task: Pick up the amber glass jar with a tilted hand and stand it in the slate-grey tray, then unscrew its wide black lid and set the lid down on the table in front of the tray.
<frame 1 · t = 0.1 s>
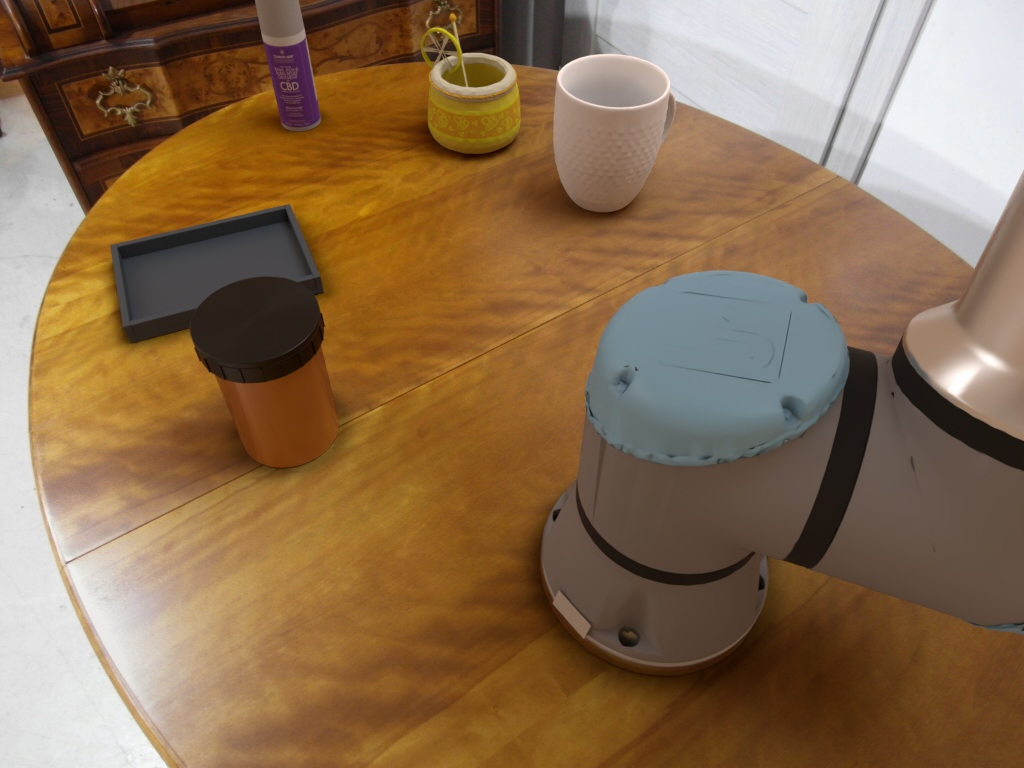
tray: (219, 276, 74), on the table
container: (301, 122, 93), on the table
mug: (607, 193, 84), on the table
jar: (290, 429, 62), on the table
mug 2: (472, 133, 92), on the table
jar lid: (257, 322, 53), point 12 cm above the table, screwed on, not yet turned
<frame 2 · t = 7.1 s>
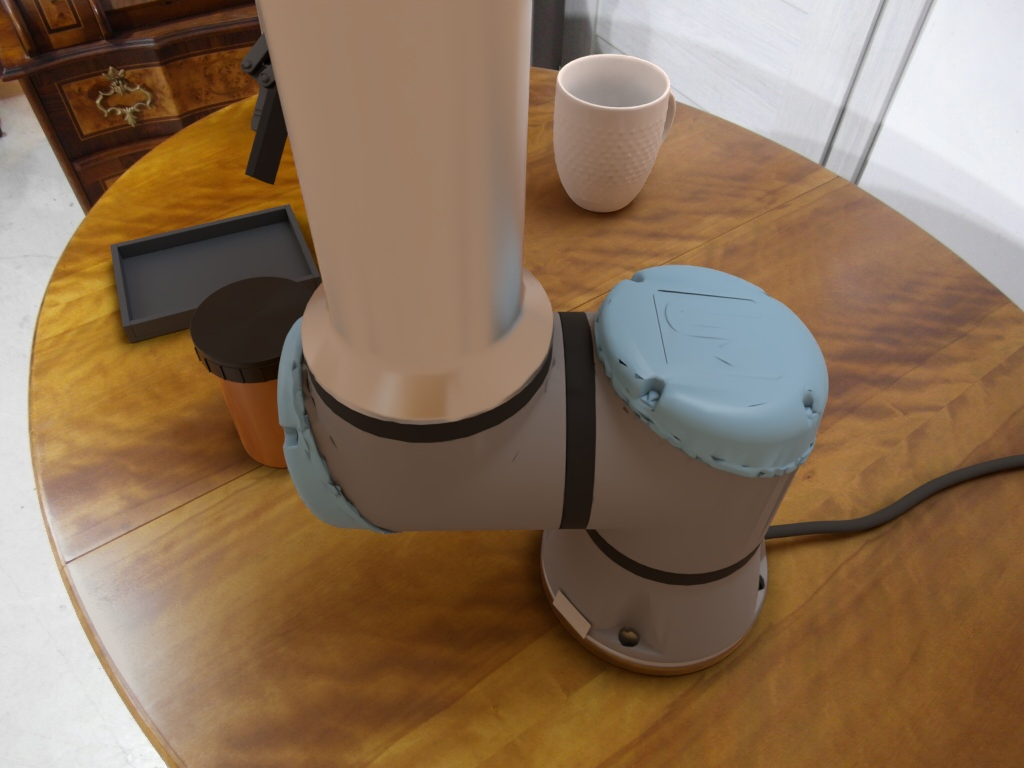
hand: (335, 203, 57), 15 cm above the table, tool tilted 45°, fingers open, 13 cm apart
nothing on the table moved.
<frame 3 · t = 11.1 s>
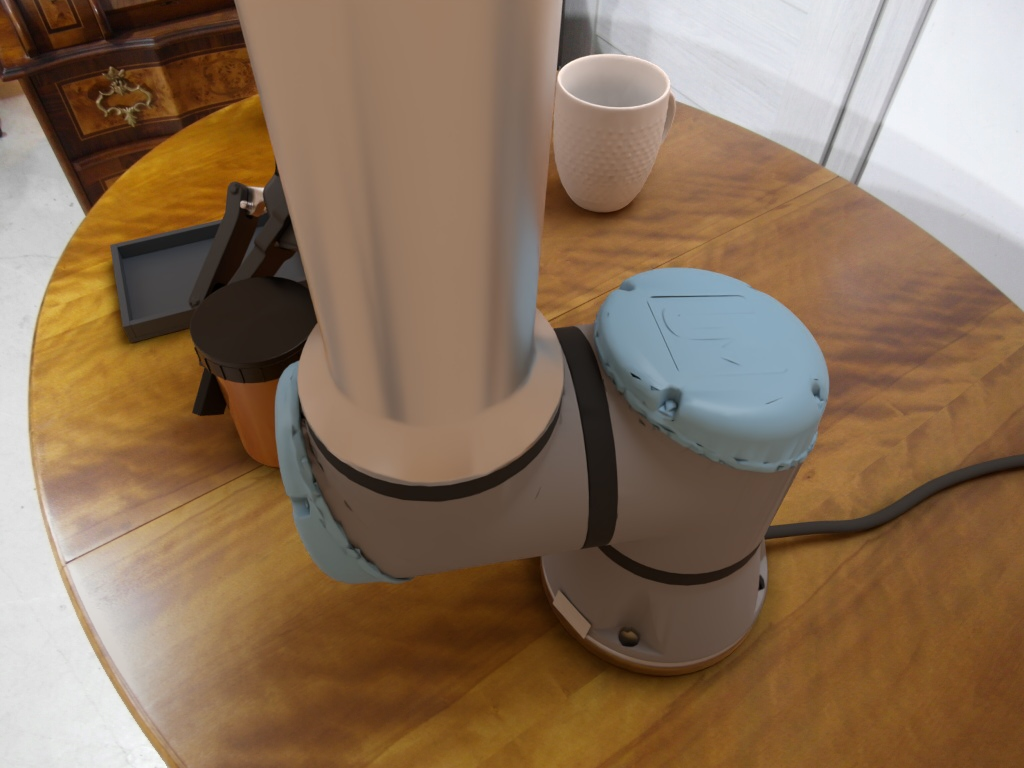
hand: (254, 431, 57), 4 cm above the table, tool tilted 45°, fingers closed on jar, 8 cm apart
jar: (291, 429, 62), on the table, touching gripper
everything else where it was.
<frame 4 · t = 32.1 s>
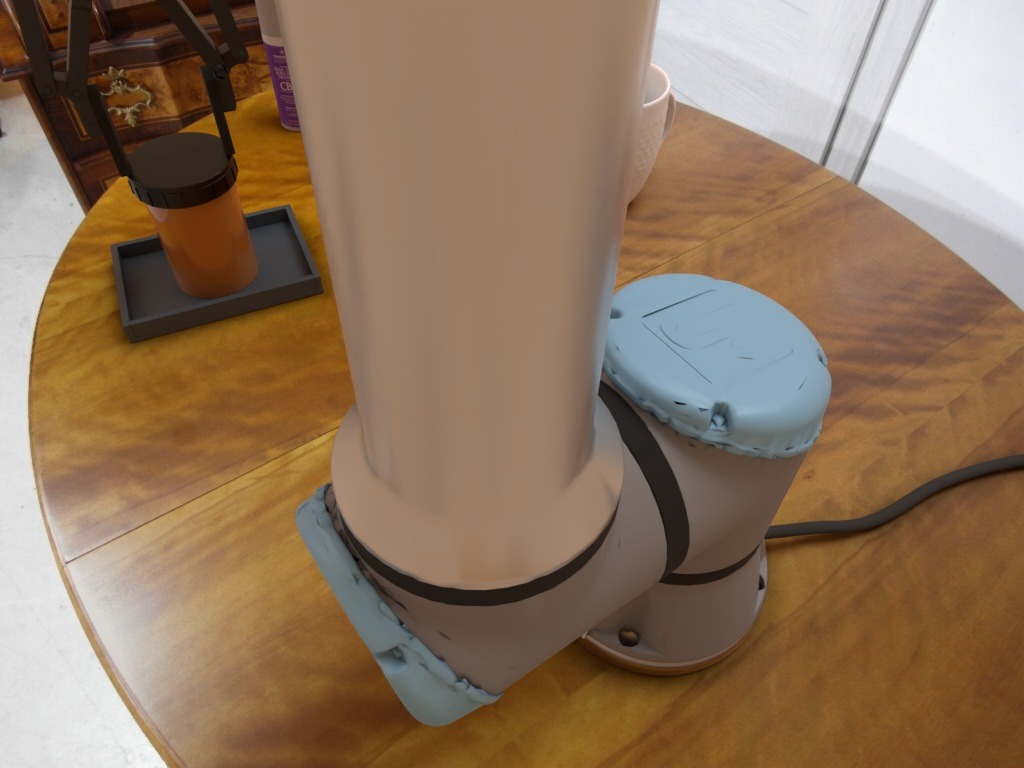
hand: (177, 156, 64), 13 cm above the table, tool pointing down, fingers closed on jar lid, 8 cm apart
jar: (218, 272, 73), point 1 cm above the table, touching tray
jar lid: (180, 164, 65), point 12 cm above the table, screwed on, not yet turned, touching gripper
everything else where it was.
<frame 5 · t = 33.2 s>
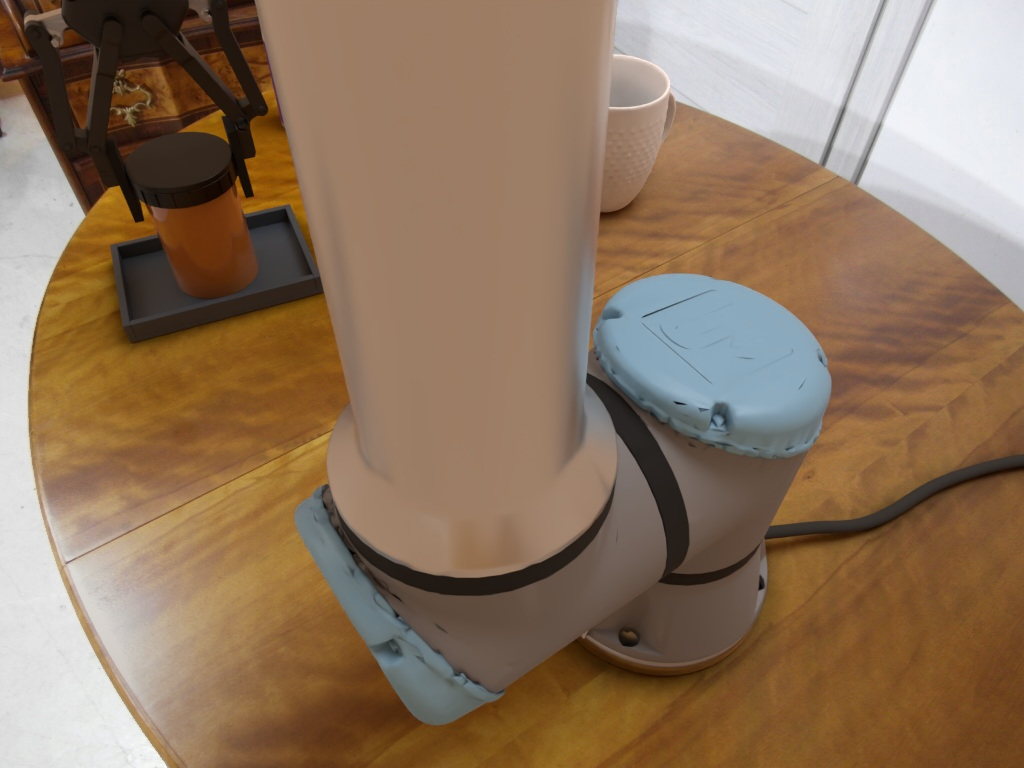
hand: (193, 200, 68), 8 cm above the table, tool pointing down, fingers closed on jar lid, 9 cm apart
jar lid: (180, 163, 65), point 12 cm above the table, turned 9° so far, risen 0.0 cm, still on its thread, touching gripper
everything else where it was.
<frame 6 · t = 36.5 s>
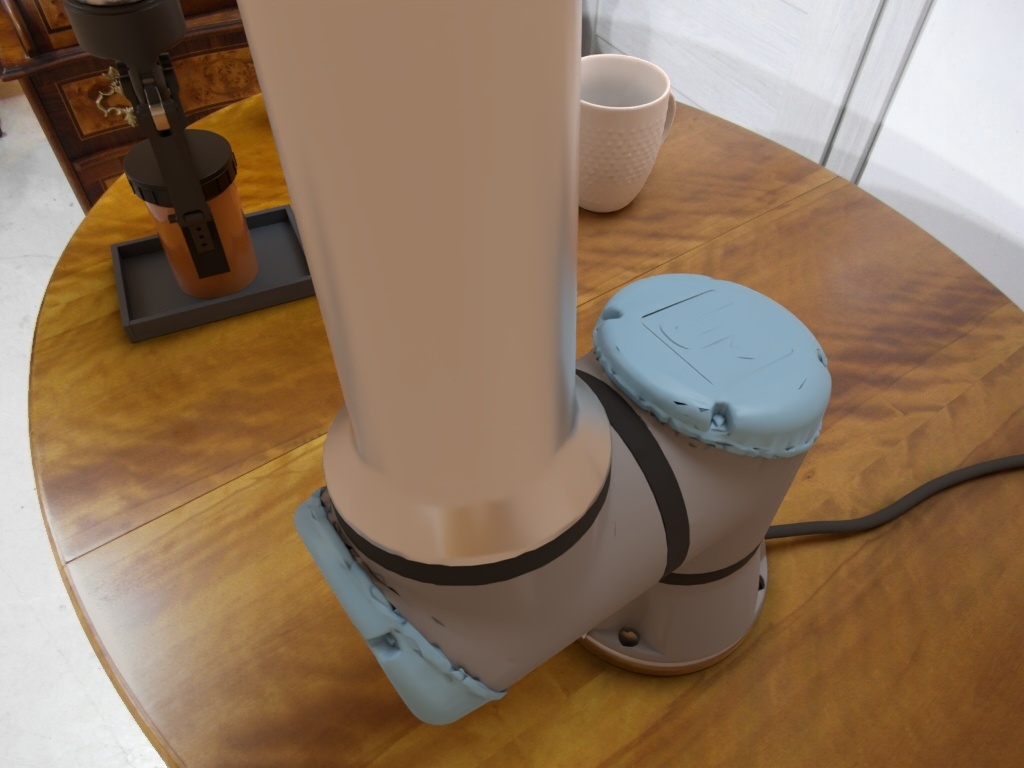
hand: (206, 245, 71), 4 cm above the table, tool pointing down, fingers closed on jar, 8 cm apart
jar: (218, 272, 73), point 1 cm above the table, touching gripper, tray
jar lid: (179, 161, 65), point 12 cm above the table, turned 97° so far, risen 0.3 cm, still on its thread
everything else where it was.
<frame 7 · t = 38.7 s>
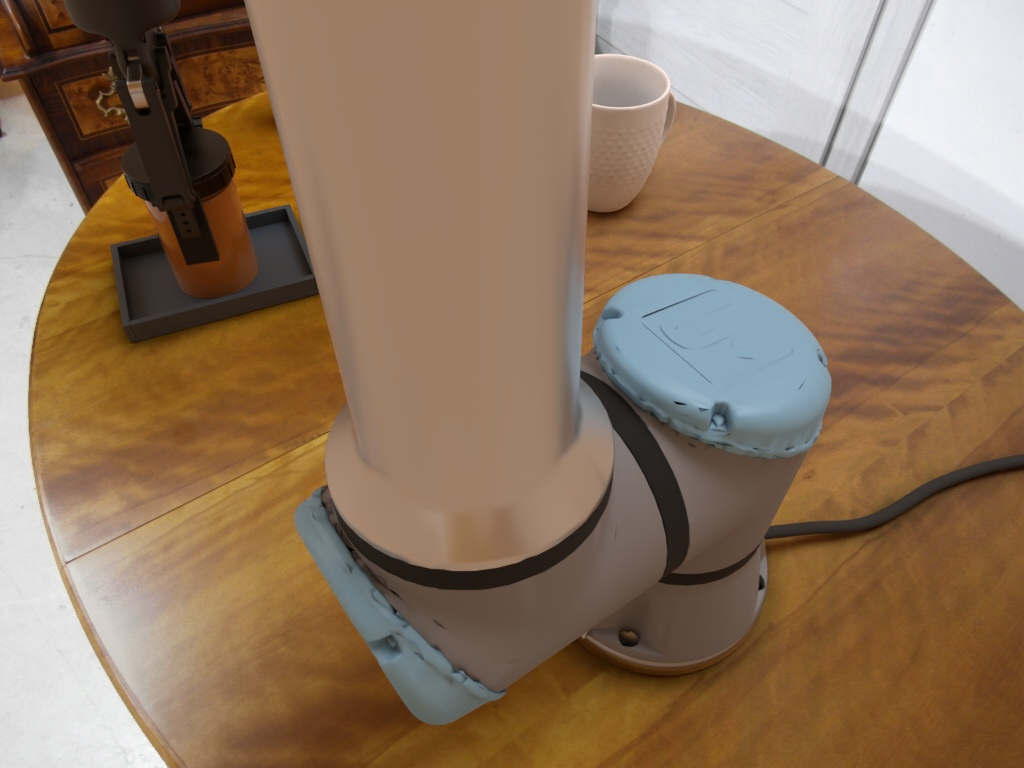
hand: (202, 228, 70), 6 cm above the table, tool pointing down, fingers closed on jar lid, 8 cm apart
jar: (218, 272, 73), point 1 cm above the table, touching tray
jar lid: (177, 159, 64), point 13 cm above the table, off its thread, touching gripper
everything else where it was.
when the fingers open (0 cm above the table, at t = 47.8 s): jar lid drops 6 cm, point 1 cm above the table.
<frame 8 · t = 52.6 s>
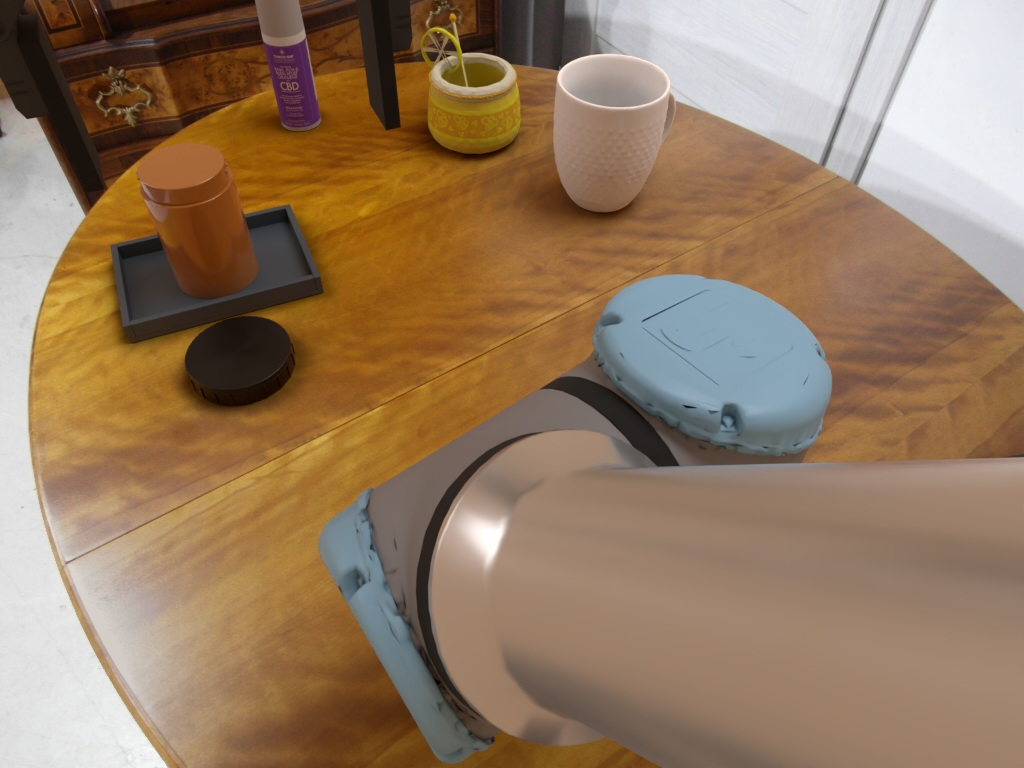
hand: (247, 144, 37), 29 cm above the table, tool pointing down, fingers open, 13 cm apart
jar lid: (239, 355, 65), point 1 cm above the table, off its thread
everything else where it was.
at the end: jar inside the target area in the tray (0.1 cm from its centre), point 0.5 cm above the tray's base; jar lid came off its thread; jar lid point 1.5 cm above the table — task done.
